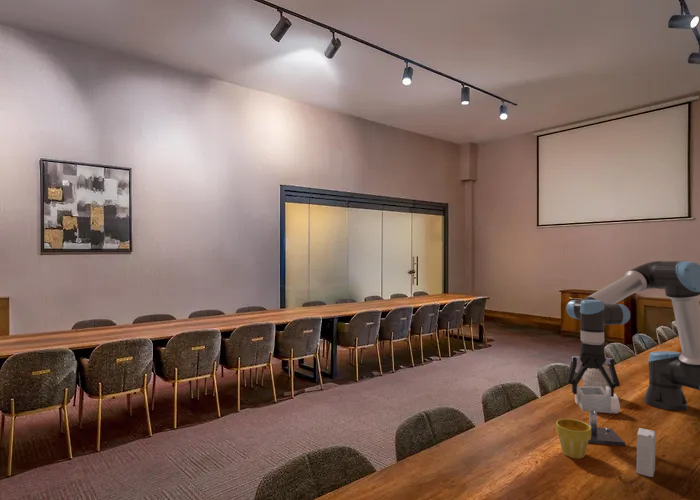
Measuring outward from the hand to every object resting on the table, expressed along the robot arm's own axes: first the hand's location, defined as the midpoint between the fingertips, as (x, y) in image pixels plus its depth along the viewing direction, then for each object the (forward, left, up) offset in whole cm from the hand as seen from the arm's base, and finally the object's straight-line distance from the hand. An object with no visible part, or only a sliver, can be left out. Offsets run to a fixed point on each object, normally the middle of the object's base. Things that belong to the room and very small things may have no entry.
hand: (592, 404), depth 152 cm
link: (0, -1, -1) cm, 1 cm away
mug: (-12, -29, -12) cm, 34 cm away
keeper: (0, 0, -12) cm, 12 cm away
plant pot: (+11, +16, -12) cm, 23 cm away
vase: (-17, -47, -12) cm, 51 cm away
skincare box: (-7, +24, -12) cm, 28 cm away
